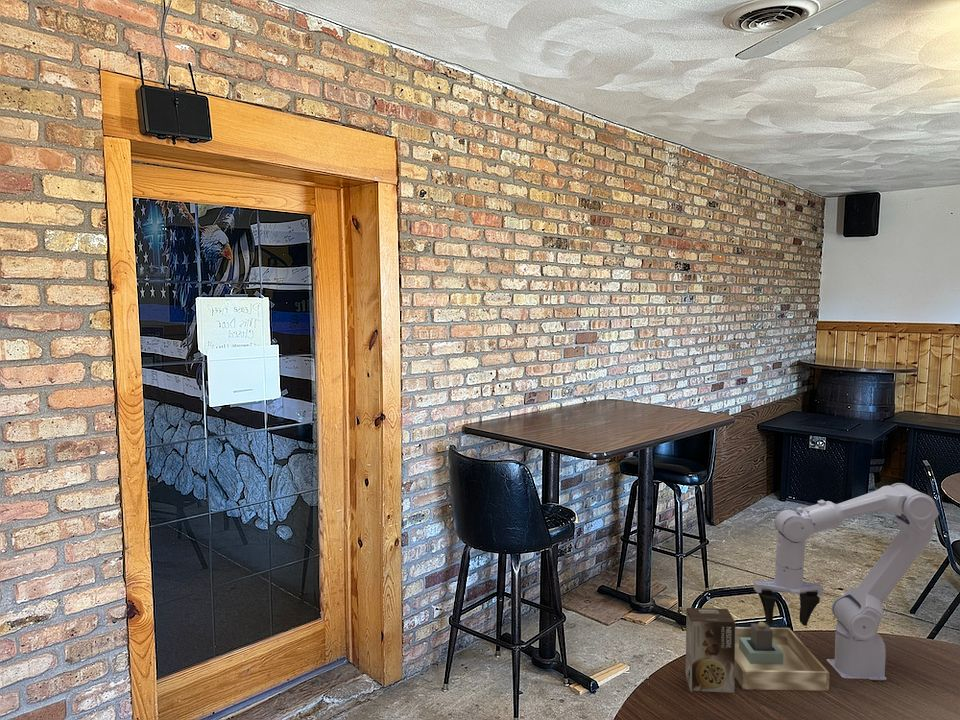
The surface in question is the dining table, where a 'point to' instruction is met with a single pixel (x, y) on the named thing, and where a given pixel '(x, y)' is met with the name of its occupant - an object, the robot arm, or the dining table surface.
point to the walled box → (781, 665)
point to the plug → (761, 637)
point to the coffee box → (710, 650)
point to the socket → (760, 653)
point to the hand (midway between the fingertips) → (786, 623)
